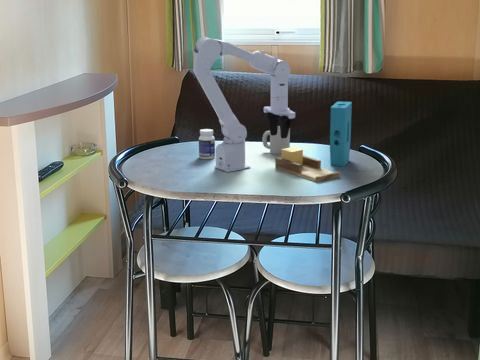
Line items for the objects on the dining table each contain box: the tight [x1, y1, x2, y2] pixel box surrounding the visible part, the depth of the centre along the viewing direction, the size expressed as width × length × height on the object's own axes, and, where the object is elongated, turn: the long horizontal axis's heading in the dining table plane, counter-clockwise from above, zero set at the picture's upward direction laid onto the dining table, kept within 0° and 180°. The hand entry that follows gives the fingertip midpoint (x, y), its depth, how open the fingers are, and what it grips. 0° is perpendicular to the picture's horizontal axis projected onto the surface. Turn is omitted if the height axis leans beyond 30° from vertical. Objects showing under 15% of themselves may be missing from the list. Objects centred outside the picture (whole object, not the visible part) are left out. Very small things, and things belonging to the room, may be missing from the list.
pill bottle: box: [198, 128, 216, 160], centre depth 238 cm, size 6×6×10 cm
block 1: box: [280, 146, 304, 165], centre depth 224 cm, size 5×5×5 cm
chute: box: [274, 155, 341, 183], centre depth 219 cm, size 9×21×4 cm, turn 35°
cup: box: [261, 125, 291, 156], centre depth 244 cm, size 7×10×9 cm
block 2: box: [329, 101, 353, 167], centre depth 228 cm, size 12×5×20 cm, turn 160°
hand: (278, 136), depth 228 cm, fingers open, 5 cm apart
